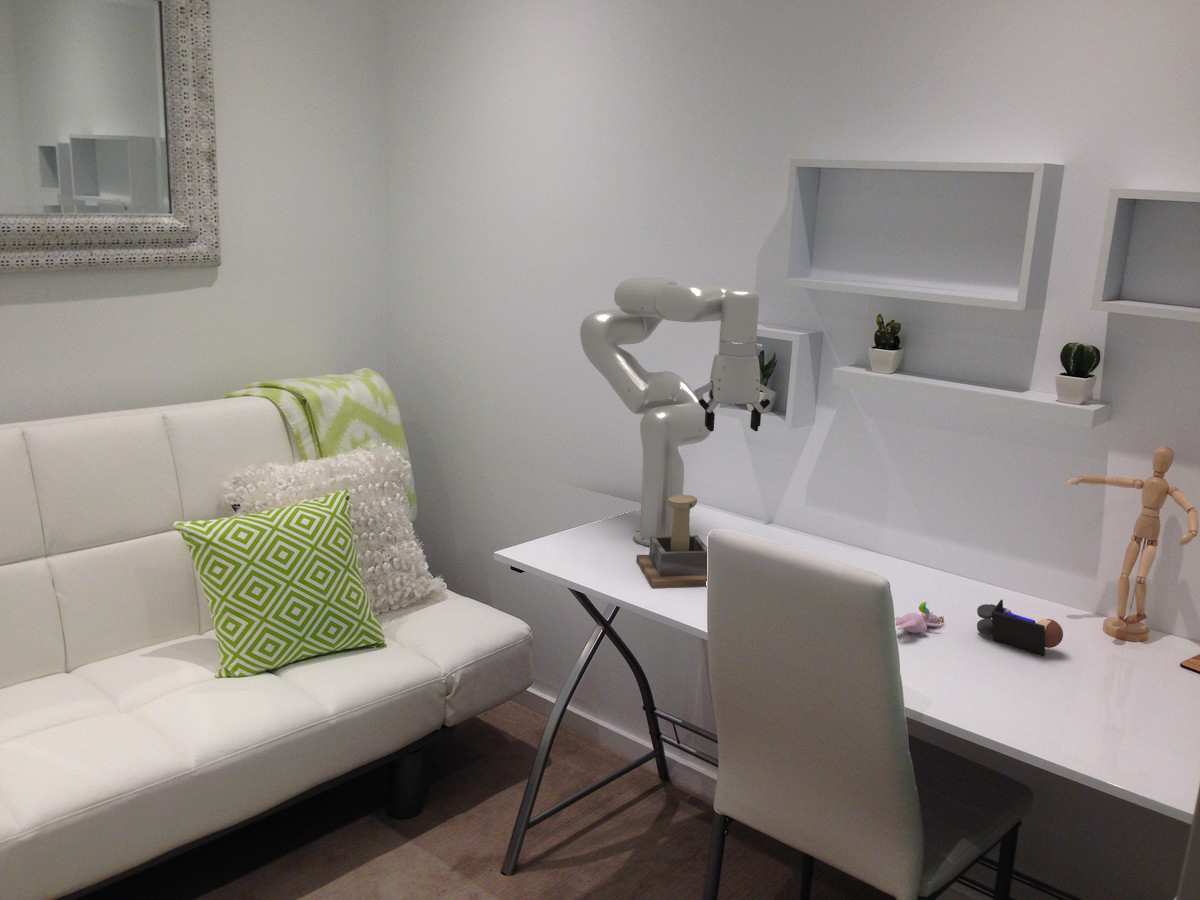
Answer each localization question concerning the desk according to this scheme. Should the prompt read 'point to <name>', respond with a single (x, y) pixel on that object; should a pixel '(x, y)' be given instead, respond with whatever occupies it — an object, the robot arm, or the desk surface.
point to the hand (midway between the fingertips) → (732, 429)
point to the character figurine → (1018, 629)
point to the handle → (681, 521)
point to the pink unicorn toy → (919, 620)
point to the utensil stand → (674, 564)
